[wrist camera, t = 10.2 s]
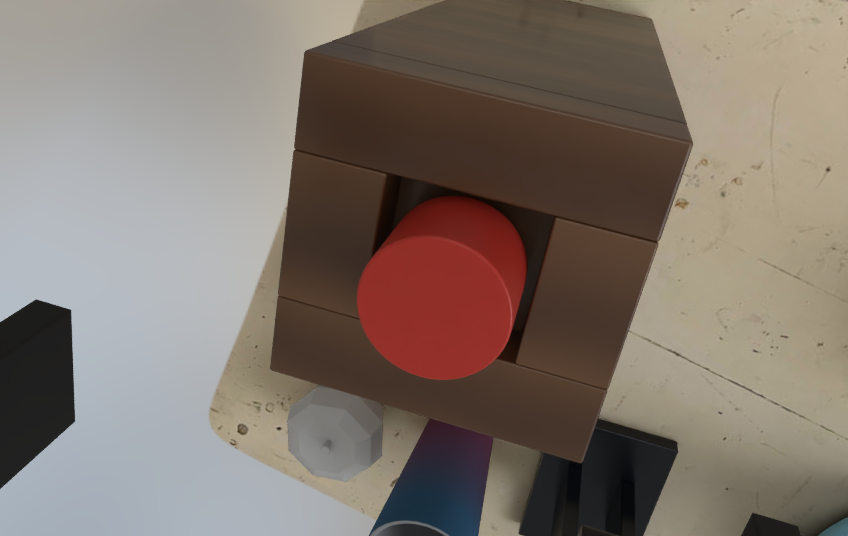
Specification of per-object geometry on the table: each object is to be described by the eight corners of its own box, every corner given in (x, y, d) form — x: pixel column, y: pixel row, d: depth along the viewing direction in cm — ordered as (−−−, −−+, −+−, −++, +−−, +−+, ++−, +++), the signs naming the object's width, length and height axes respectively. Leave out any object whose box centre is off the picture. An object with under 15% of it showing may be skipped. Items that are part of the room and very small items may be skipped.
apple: (377, 458, 63) (352, 511, 57) (294, 413, 63) (260, 461, 57) (416, 389, 59) (393, 438, 53) (327, 341, 59) (295, 385, 53)
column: (489, -16, 46) (303, 50, 19) (652, 19, 45) (694, 142, 18) (456, 140, 50) (269, 370, 24) (604, 177, 49) (582, 464, 22)
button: (402, 179, 21) (367, 217, 18) (544, 215, 20) (530, 260, 18) (380, 303, 23) (345, 356, 20) (510, 340, 22) (493, 399, 19)
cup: (413, 388, 59) (351, 520, 46) (498, 384, 57) (460, 520, 44) (430, 460, 61) (376, 605, 48) (512, 458, 60) (480, 609, 46)
